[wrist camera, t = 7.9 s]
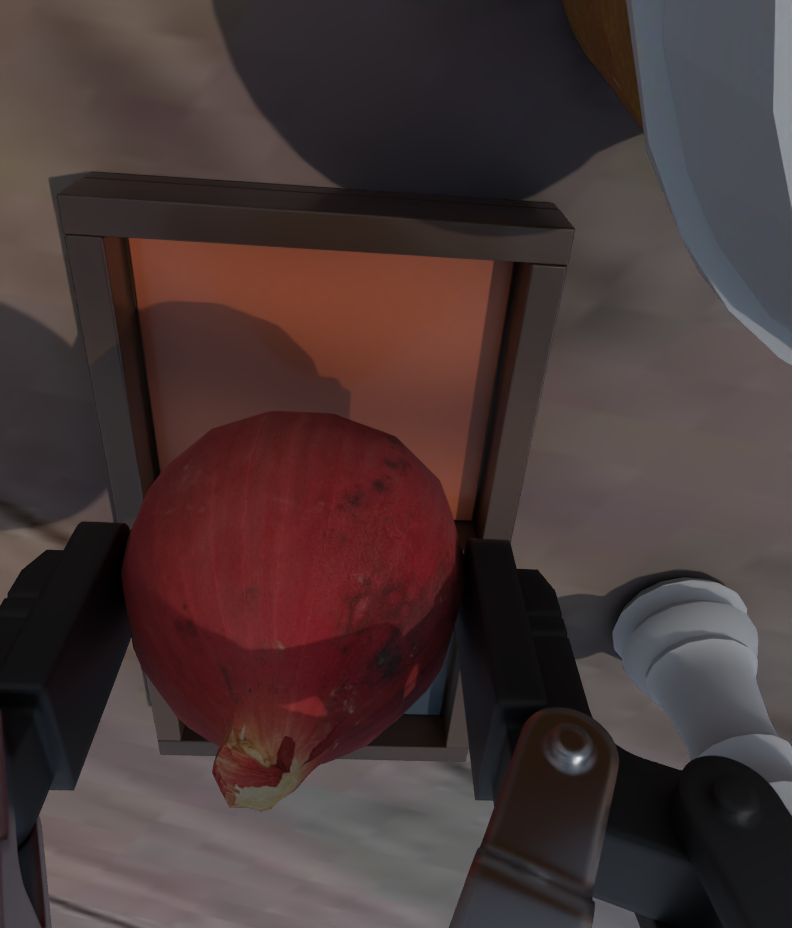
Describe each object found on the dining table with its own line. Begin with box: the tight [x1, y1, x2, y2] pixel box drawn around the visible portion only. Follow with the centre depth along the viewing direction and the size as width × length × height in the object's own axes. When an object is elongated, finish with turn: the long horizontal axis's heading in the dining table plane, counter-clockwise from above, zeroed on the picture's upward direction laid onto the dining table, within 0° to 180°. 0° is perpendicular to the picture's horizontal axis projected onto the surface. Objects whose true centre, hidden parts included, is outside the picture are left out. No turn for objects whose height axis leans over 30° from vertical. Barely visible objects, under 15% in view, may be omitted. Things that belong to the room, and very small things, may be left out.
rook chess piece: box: [612, 577, 792, 815], centre depth 21 cm, size 4×4×8 cm
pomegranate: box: [121, 411, 465, 811], centre depth 13 cm, size 6×6×8 cm
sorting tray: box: [57, 172, 575, 762], centre depth 21 cm, size 19×11×2 cm, turn 176°
